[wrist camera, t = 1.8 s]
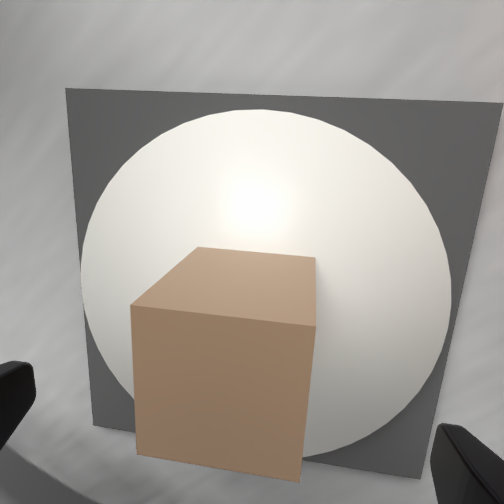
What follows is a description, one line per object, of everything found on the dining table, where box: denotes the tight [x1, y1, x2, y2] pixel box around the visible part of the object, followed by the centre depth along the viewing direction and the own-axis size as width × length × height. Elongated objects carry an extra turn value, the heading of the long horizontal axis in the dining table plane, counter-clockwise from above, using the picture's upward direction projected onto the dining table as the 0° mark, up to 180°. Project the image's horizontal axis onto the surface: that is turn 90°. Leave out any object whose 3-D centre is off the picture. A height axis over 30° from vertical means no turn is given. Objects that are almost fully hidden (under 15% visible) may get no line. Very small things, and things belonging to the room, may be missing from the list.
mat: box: [65, 88, 503, 479], centre depth 14 cm, size 14×14×1 cm
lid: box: [81, 109, 451, 482], centre depth 11 cm, size 13×13×6 cm
